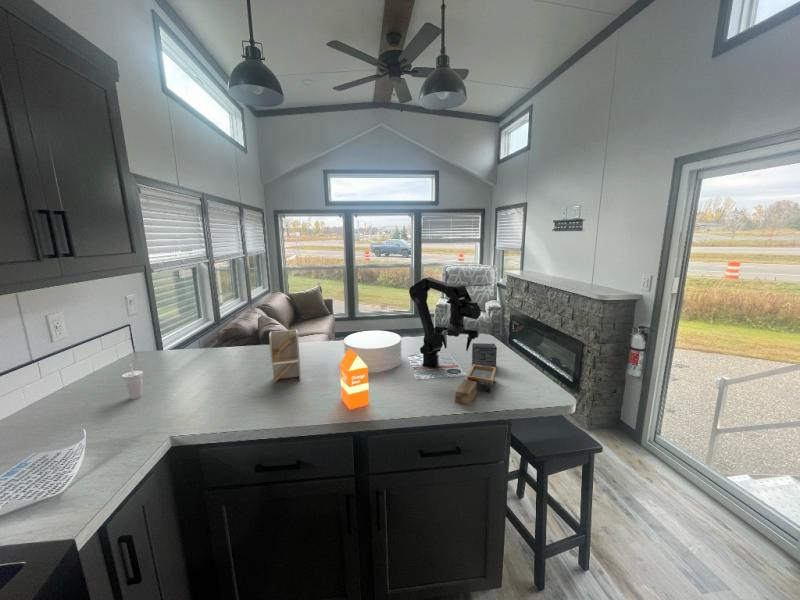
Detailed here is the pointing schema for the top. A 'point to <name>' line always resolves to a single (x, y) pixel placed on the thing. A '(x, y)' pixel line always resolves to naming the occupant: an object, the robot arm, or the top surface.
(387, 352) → the plate stack
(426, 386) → the top surface
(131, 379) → the smoothie
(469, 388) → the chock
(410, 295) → the robot arm
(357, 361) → the orange juice
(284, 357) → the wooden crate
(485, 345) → the small box
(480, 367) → the wooden frame tray
